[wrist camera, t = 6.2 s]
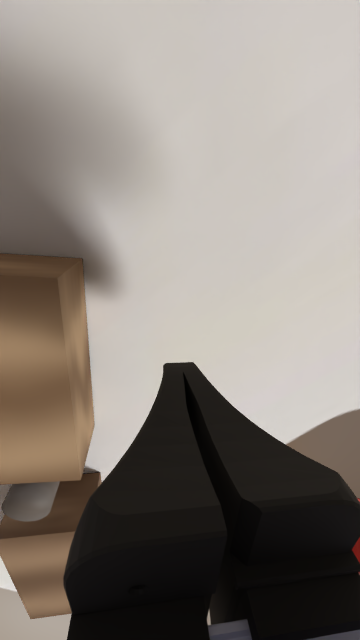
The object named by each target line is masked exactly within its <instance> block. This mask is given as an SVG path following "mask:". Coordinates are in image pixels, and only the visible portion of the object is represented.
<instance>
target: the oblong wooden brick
mask: <svg viewBox="0 0 360 640" xmlns="http://www.w3.org/2000/svg"><path fill="white" fill-rule="evenodd" d="M101 483H102V482H101V475H100V473H88V474H82V477H81V480H76V481H60V483H59V486H58V489H57V492H56V495H55V498H54V501H53V504H52V507H51V511H50V513H49V514H48V515H47V516H46V517H44V518H42V519H40V520H36V521H28V522H27V521H18V520H14V519H12V518H10V517H8V516H7V515H6V514H5V515H4V517H3V519H2V521H1V524H0V556H1V558H2V560H3V562H4V564H5V567H6V569H7V571H8V573H9V575H10V577H11V579H12V581H13V583H14V585H15V587H16V590H17V592H18V594H19V596H20V598H21V600H22V602H23V604H24V606H25V608H26V610H27V613H28V615H29V616H30V619H35V618H42V617H49V616H56V615H64V614H71V613H72V612H71V608H70V605H69V602H68V599H67V596H66V593H65V589H64V586H63V576H64V572H65V568H66V563H67V559H68V554H69V550H70V546H71V543H72V540H73V537H74V534H75V531H76V528H77V525H78V523H79V520H80V518H81V516H82V513H83V511H84V509H85V507H86V504H87V502H88V500H89V498H90V496H91V495H92V494H93V493H94V491H95V490H96V489H97V488H98V487H99V486H100V484H101Z"/></svg>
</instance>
